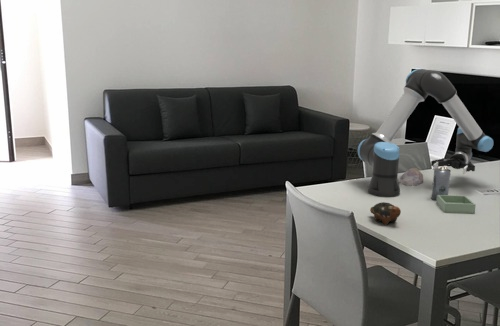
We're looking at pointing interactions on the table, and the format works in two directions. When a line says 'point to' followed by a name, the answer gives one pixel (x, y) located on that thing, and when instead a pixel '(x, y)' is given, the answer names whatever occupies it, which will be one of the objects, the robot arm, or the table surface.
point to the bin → (455, 204)
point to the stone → (411, 177)
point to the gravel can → (440, 182)
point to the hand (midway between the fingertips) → (448, 169)
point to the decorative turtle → (385, 212)
